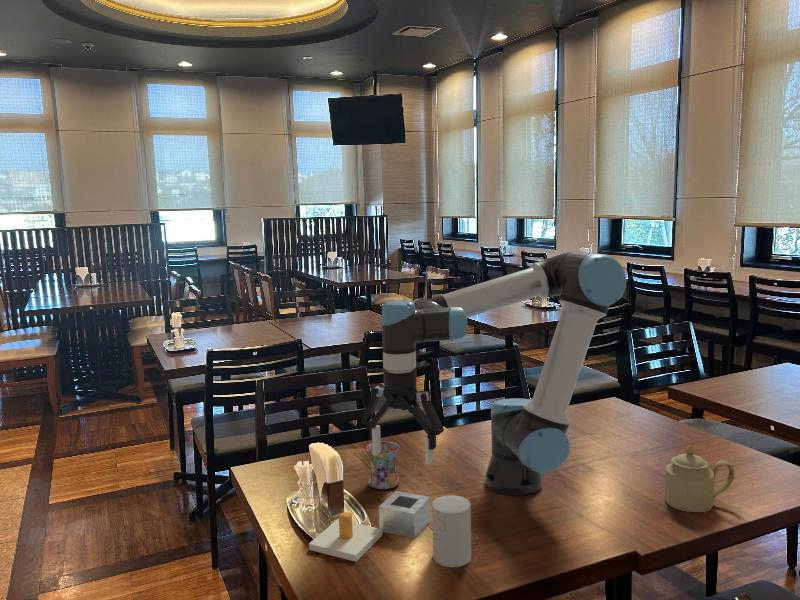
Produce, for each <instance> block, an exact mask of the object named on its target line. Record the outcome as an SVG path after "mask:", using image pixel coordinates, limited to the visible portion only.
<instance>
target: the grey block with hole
mask: <svg viewBox="0 0 800 600" xmlns="http://www.w3.org/2000/svg"><path fill="white" fill-rule="evenodd" d="M378 517H379V518H378V519H379V521H378V522H379V523H378V524H379V529H382V533H387V534H390V535H396V536H401V537H405V538H410V539H413V540H414V539H416V538H417V536H418V535H420V533H421V532H422V531H423V530H424V529H425V528H426V527H427V526H428V525H429V523H430V522H431V497H430V496H426V495H425V496H424V495H420V494H415V493H409V492H404V491H399V490H395V491H394V492H393V493H392V494H391V495H390V496H389V497H387V498H386V499H385V500H384V501H383V502H382V503H381V504H380V505H379V506H378Z"/></svg>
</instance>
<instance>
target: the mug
mask: <svg viewBox="0 0 800 600" xmlns="http://www.w3.org/2000/svg"><path fill="white" fill-rule="evenodd" d="M400 450H401V447H400V445H399V444H398V443H396V442H393V441H385V440H383V441H381V452H380V453H378V454H377V455H376V456H374V455H373V449H372V442H371V443H369V444H368V445H366V446H365V452H366V454H367V457H368V459H369V464H370V476H369V478H368V481H367V482H368V483H367V484H368V485H369V487H371V488H373V489H377V490H389V489H393V488H395V487H396V486H398V485H399V484H400V479H399V476H398V474H397V468H396V467H397V466H396V464H397V457H398V454H399V452H400Z"/></svg>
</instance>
